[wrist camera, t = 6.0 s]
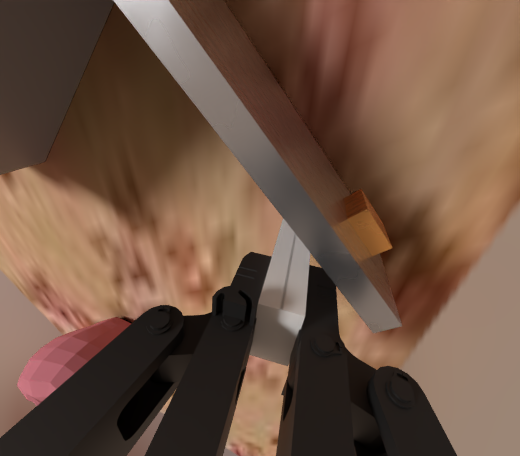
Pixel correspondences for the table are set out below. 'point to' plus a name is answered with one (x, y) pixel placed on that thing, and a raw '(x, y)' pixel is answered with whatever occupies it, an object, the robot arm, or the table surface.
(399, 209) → the table surface
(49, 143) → the grey knobbed block
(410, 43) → the table surface
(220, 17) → the side door
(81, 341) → the apple
